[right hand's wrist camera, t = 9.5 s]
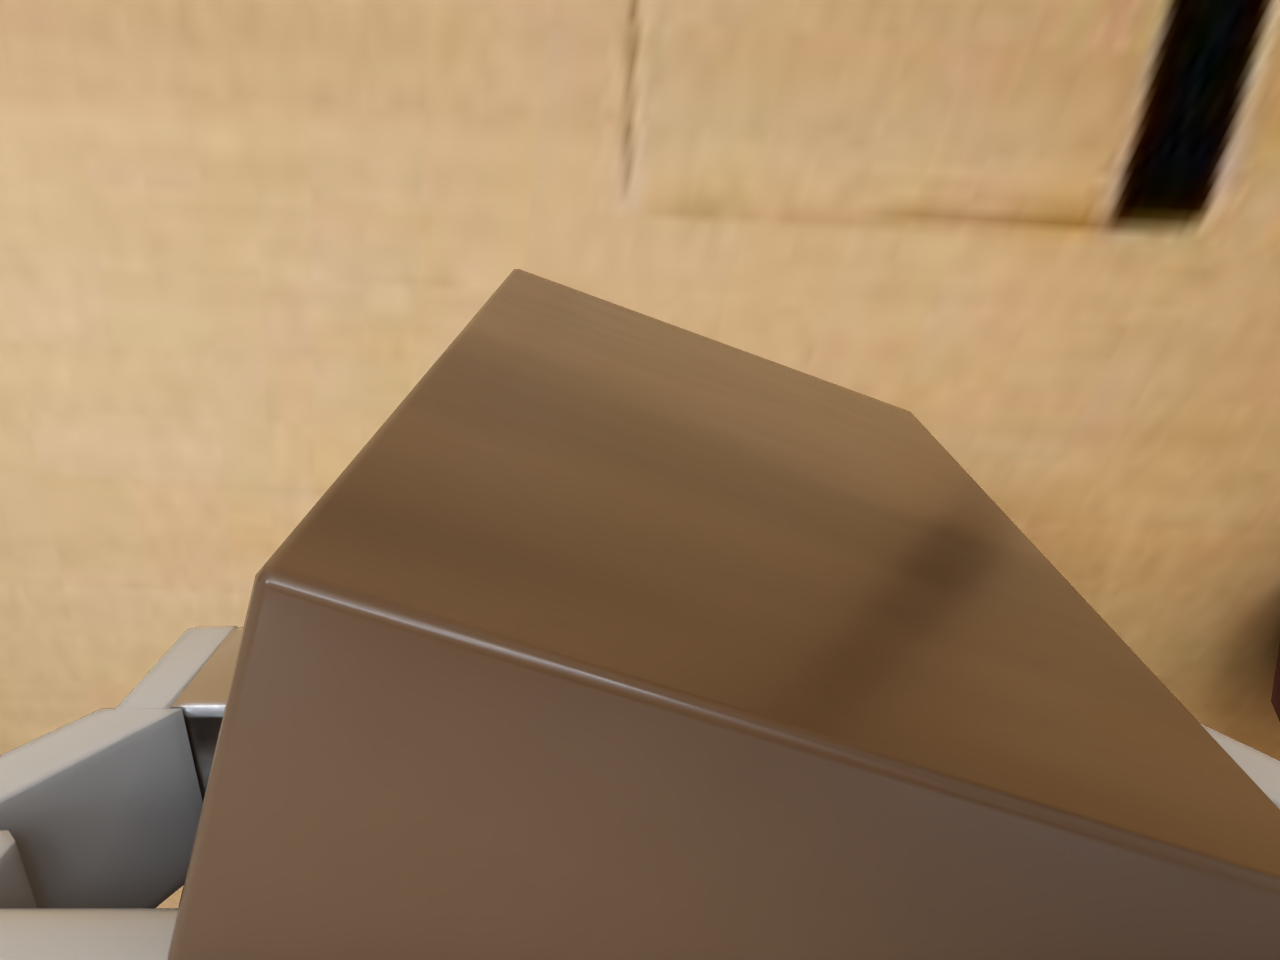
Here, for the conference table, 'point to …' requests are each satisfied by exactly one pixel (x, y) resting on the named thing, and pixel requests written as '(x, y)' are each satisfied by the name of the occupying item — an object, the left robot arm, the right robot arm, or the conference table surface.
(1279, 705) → the potato
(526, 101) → the conference table surface
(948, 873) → the box
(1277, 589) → the conference table surface
